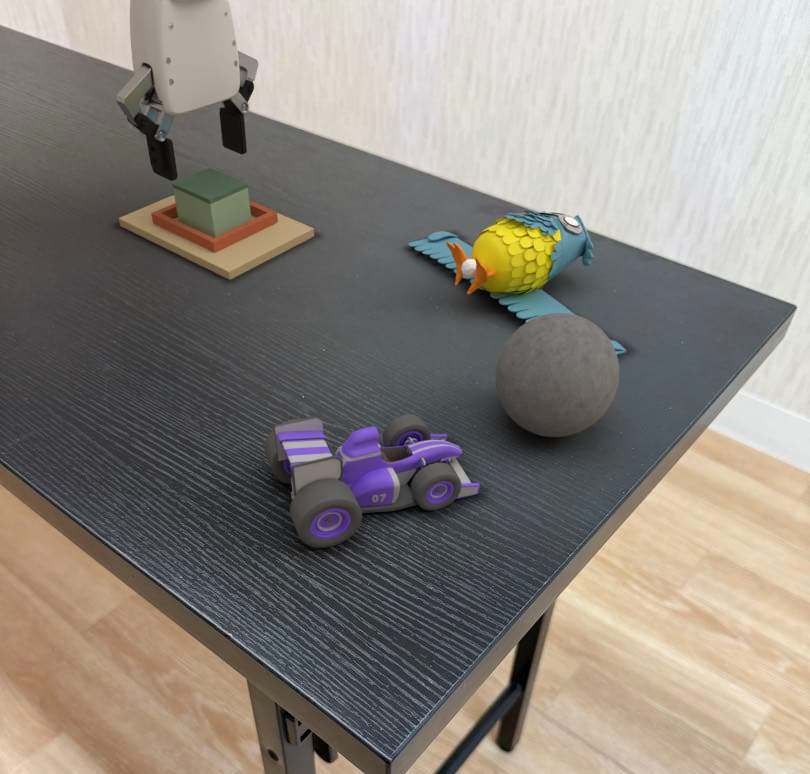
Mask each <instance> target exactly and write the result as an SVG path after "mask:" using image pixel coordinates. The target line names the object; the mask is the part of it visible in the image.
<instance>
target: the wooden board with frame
mask: <svg viewBox="0 0 810 774" xmlns="http://www.w3.org/2000/svg"><path fill="white" fill-rule="evenodd" d="M249 203H250V212H251V221H248V222H246V223H244V224H242V225H240V226H238V227H236V228H234V229H231V230H229V231H227V232H225V233H223V234H221V235H219V236H217V237H215V238H213V237H211V236H209V235H207V234H205V233H202V232H200V231H198V230H196V229H194V228H192V227H190V226H187V225H185V224H183V223H181V222H179V219H178V213H177V208H176V202H175V197H174V194H173V195H170V196H167V197H166V198H163V199H161V200H159V201H156V202H154V203H151V204H149V205H147V206H144V207H142V208H139V209H137V210H134V211H132V212H129V213H127V214H125V215H122V216H119V217H118V222H119V226H120V227H121V228H123V229H125V230H127V231H129V232H132V233H134V234H135V235H137V236H140V237H142V238H144V239H145V240H148V241H150V242H152V243H153V244H156V245H157V246H159V247H162V248H163V249H166V250H168V251H170V252H172V253H174V254H176V255H178V256H179V257H183V258H184V259H186V260H188V261H191V262H192V263H194V264H196V265H198V266H200V267H202V268H205V269H206V270H209V271H211V272H213V273H215V274H216V275H218V276H221V277H222V278H224V279H227V280H229V281H230V280H233V279H234V278H237V277H239V276H241V275H242V274H244V273H246V272H249V271H250V270H252V269H254V268H256V267H258V266H260V265H262V264H264V263H265V262H267V261H270V260H272V259H273V258H275V257H278V256H279V255H281V254H283V253H285V252H287V251H288V250H290V249H293V248H294V247H296V246H298V245H301V244H303V243H304V242H306V241H308V240H311V239H313V238H314V237H315V229H314V227H311V226H309V225H307V224H304V223H302V222H301V221H300V222H299V221H298V220H295V219H293V218H291V217H288V216H286V215H283V214H281V213H279V212H277V211H276V210H273V209H271V208H268V207H266V206H264V205H261V204H260V203H257V202H254V201H252V200H250V199H249Z"/></svg>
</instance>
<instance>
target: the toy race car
mask: <svg viewBox="0 0 810 774" xmlns="http://www.w3.org/2000/svg"><path fill="white" fill-rule="evenodd" d="M323 421H324V420H323V419H322V418H321V417H318V416H313V417H307V418H295V419H291V420H287V421H285V422H282V423H280V424H274V425H273V430H272V431H271V432H270V433H269V434H268V436H266V440H265V443H264V448H263V449H264V455H265V458H266V459H267V462H268V464H269V468H270V469H271V472H272V473H273V475H274V477H275V478H276V479H277V480H278V481H280V482H282V483H284V484H287V485H291V490H292V491H291V492H290V494H291V499H292V500H291V502H290V506H289V515H290V518H291V521H292V523H293V525H294V528H295V530H296V534H297V535H298V537H299V539H300V541H301V542H302V543H303V544H305V545H307V546H308V547H312V548H316V549H325V548H326V549H327V548H331V547H335V546H337V545H340V544H342V543H344V542H345V541H347V540H349V539H350V538H351V537H352V536H353V535H354V534H355V533H356V532H357V531H358V529H359V528H360V526H361V523H362V520H363V514H371V513H384V512H385V513H386V512H393V511H399V510H404V509H407V508H411V507H414V506H419V507H420V508H421V509H422V510H425V511H432V512H433V511H438V510H442V509H444V508H446V507H448V506H449V505H451V504H452V503H453V502H455V500H459V499H463V498H467V497H472V496H477V495H479V493H480V488H481V485H480V483H479V482H471V480H470V478H469V477H468V475H467V474H466V472H465V471H464V469H463V468H462V466H461V465H460V463H459V462H458V459H457V458H458V457H461V456H463V454H464V453H463V452H464V451H463V450H462V448H461V446H459V445H458V444H454V443H452V442H451V441H448V440H449V435H448V434H447V433H431V432H430V430H429V428H428V426H427V424H426V423H425V422H424V420H423V418H421V417H420V416H418V415H416V414H414V413H413V414H412V413H411V414H410V413H408V414H403V415H400V416H397V417H395V418H394V419H393V420H391V421H390V422H389V423H387V425H386V426H385V428H384V430H383V433H382V442H383V444H384V446H385V447H382V446H381V444H380V443H379V440H380V439H379V438H380V434H379V430H378V428H377V426H375V425H373V426H368V427H364V428H359V429H356V430H354V431H352V432H351V433H350V434H349V436H348V438H347V439H346V440H344V442H342V444H341V445H340V446H338V448H336V451H335V452H334V453H335V454H334V455H333V453H332V448H331V446H330V444H329V442H328V440H327V438H326V435H325V431H324V430H325V429H324V422H323ZM439 461H440V462H439ZM413 476H414V477H413ZM412 477H413V478H412ZM411 478H412V480H411ZM410 480H411V482H410V486H409V484H408V482H409V481H410Z"/></svg>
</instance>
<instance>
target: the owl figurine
mask: <svg viewBox="0 0 810 774" xmlns="http://www.w3.org/2000/svg"><path fill="white" fill-rule="evenodd" d="M473 241H474V242H473V246H471V245H469V244H468V243H466V242H465V241H463V240H461V239H460V236H459V235H456V234H454V233H451V232H450V231H445V230H443V231H442V230H441V231H440V230H439V231H435V232H432V233H430V234H428V236H427V238H423V239H418V240H415V241H410V242H408V244H407V245H408V246H409V247H410V248H414V251H416V252H419V253H420V252H421V253H422V254H423V255H427V256H429V258H430V259H433V260H437V263H439V264H440V265H445V268H446V269H449V270H453V273H455V280H454V281H455V282H454V285H455V287H456V286H458V284H459V283H460V282H461V281H462V279H465V280H469V283H470V287H469V288H468V290H467V292H466V294H467V295H471V294H472V293H474V292H475V291H477V290H478V289H479V290H481V291H487V292H489V296H490V297H491V298H493V299H495V300H498V303H499V304H500V305H502V306H507V311H509V312H511V313H516V314H515V316H516V317H517V318H518V319H520V320H525V323H527V322H528V321H530V320H532V319H534V318H537V317H539V316H542V315H546V314H551V313H568V314H574V315H576V314H575V313H574V312H573V311H571V310H570V309H568V308H567V307H566V306H565V305H563V304H562V303H561V302H559V301H558V300H557V299H555V298H554V297H552V296H551V295H550V294H549V293H547V292H545V291H544V290H543V289H542V288H544V286H545V285H546V284H547V283H549V282H550V281H551V280H552V279H553V278H554V277H556V276H557V275H559V274H560V273H561V272H562V271H564V270H565V269H566V268H567V267H569V266H570V265H571V264H573V263H574V262H575V261H576V260H577V259H579V258H581V257H582V258H581V262H582V265H583V266H585V267H588V266H591V261H590V260H593V259H594V255H593V252H592V251H591V250H593V249H594V244H593V242H592V241H591V237H590V236H589V233H588V230H587V228H586V225H585V223H584V221H583V220H582V218H581V216H580V215H579V214H576V215H575V216H571V215H568V214H564V213H560V212H553V211H552V212H546V210H543V211H542V212H535V211H532V210H530V209H529V210H523V212H521V213H519V212H518V213H517V212H515V213H512V212H507V214H506V216H503V217H501V218H499V219H497V220H495V221H494V222H493V224H491V225H489V226H488V227H486V228H485V229H483V230H481V232H479V234H477V236H476V238H475V240H473ZM609 340H610V341H611V343H612V345H613V347H614V349H615V351H616V355H617V356H618V355H622V354H625V353H628V352H627V350H626V348H624V347H623V345H621V343H619V342H618V341H616V340H612V339H610V338H609Z"/></svg>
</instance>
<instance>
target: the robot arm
mask: <svg viewBox="0 0 810 774" xmlns="http://www.w3.org/2000/svg"><path fill="white" fill-rule="evenodd" d="M234 24H235V23H234V20H233V14H232V10H231V6H230V1H229V0H129V36H130V50H131V61H132V69H133V70H132V71H133V76H132V77H131V78H130V79H129V80H128V81H127V82H126V84H125V85H124V86H123V87H122V88H120V91H118V93H117V94H116V96H115V101H116V103H117V105H118V106H119V108H120V109H121V111H122V112H123V114H124V115H125V116H126V120H127V122H128V123H130V124H131V125H132V127H135V128H136V129H137V130H138V131H139V133H141V134H142V135H144V136H145V139H146V145H147V149H148V150H147V151H148V156H149V157H148V158H149V163H150V166H151V168H152V171H153V173H154V175H155V174H156V175H157V176H159V177H162V178H164V179H166V180H168V181H171V182H174V181H175V180H177V179H178V169H177V162H176V154H175V148H174V142H173V140H172V139H171V138H168V134H169V132H170V129H171V127H172V124H173V121H174V119H175V117H177V116H182V115H186V114H190V113H192V112H196V111H199V110H201V109H204V108H208V107H211V106H214V105H217V104H220V103H221V104H222V105H223V106H222V107H219V122H220V132H221V144H222V146H223V147H224V148H225V149H228V150H230V151H232V152H234V153H237V154H238V155H239V154H240V155H244V154H247V152H248V148H247V137H246V136H247V135H246V123H245V114H247V113H248V112H249V109H250V107H249V101H250V99H251V97H252V95H253V93H254V90H255V84H254V82H255V80H256V76H257V73H258V68H259V61H258V60H257V58H254V57H252V56H250V55H248V54H246V53H244V52H242V51H239V50H238V45H237V44H238V43H237V36H236V30H235V25H234ZM140 104H142V105H144V106H145V108H144V111H142V109H141V106H140ZM159 114H160V115H159ZM158 116H159V117H158ZM157 119H158V120H157ZM156 121H157V122H156Z"/></svg>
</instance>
